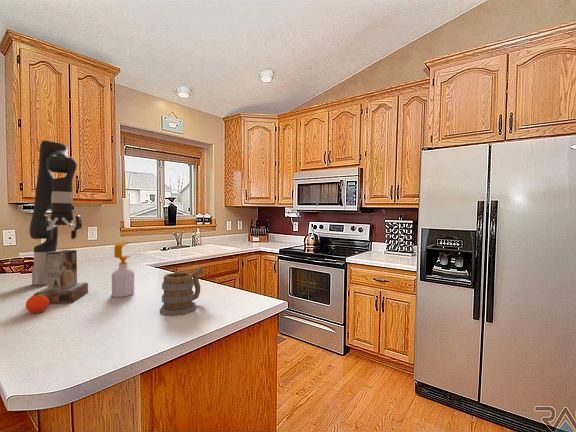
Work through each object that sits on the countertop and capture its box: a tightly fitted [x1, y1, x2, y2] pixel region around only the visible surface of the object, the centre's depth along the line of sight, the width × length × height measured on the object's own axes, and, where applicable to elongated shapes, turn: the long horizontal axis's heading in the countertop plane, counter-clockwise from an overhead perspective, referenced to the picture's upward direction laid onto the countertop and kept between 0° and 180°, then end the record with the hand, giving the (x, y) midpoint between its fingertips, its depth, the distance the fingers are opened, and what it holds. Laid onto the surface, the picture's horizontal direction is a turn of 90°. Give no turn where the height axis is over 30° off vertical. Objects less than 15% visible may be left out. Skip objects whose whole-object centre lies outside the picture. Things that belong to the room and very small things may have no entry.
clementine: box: [25, 294, 50, 314], centre depth 113 cm, size 8×7×7 cm
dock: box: [32, 282, 89, 305], centre depth 130 cm, size 14×17×5 cm
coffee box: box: [46, 249, 78, 290], centre depth 130 cm, size 9×6×16 cm
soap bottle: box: [111, 241, 135, 298], centre depth 137 cm, size 9×9×25 cm
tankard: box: [159, 267, 205, 317], centre depth 119 cm, size 20×13×15 cm, turn 148°
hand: (62, 238), depth 130 cm, fingers open, 8 cm apart
